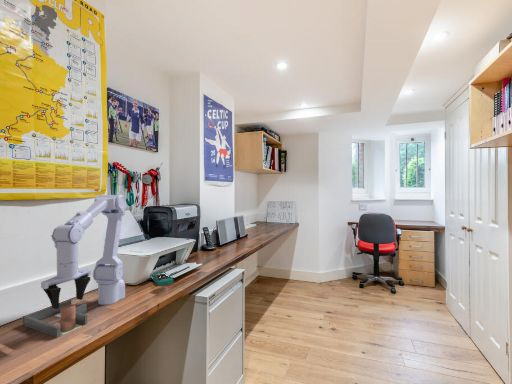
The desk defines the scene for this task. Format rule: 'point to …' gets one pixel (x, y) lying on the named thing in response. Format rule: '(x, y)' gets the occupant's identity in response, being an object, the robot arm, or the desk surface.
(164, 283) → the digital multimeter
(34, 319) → the rails
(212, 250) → the desk surface
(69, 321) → the peg
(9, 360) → the desk surface
